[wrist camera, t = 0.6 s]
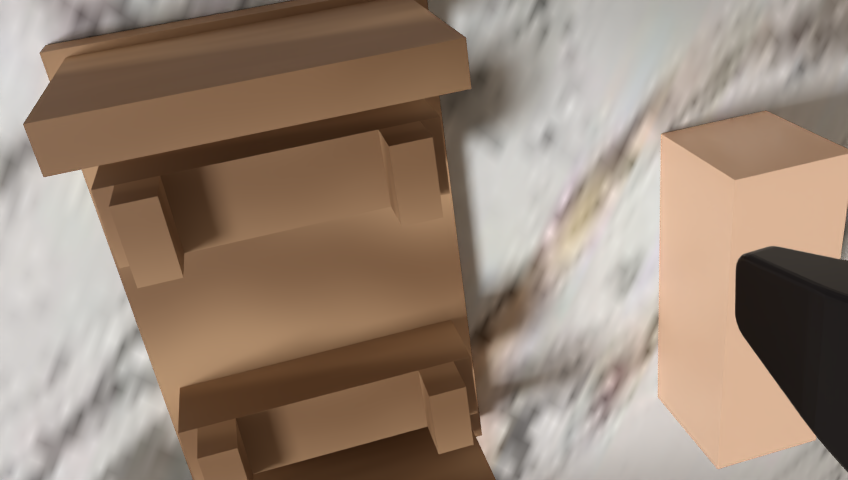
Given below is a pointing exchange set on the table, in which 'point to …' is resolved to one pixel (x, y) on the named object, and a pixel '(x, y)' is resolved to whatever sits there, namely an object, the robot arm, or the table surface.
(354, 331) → the rack
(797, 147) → the tan rectangular block
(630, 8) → the table surface
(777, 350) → the robot arm
